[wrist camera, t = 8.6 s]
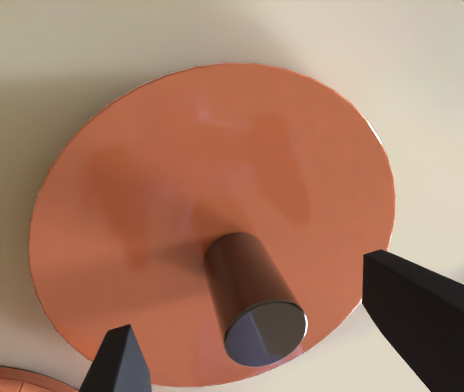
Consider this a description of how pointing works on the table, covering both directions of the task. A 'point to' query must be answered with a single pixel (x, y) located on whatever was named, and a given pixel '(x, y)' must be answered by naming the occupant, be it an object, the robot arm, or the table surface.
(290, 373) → the table surface
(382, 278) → the robot arm
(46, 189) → the lid
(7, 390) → the crock
